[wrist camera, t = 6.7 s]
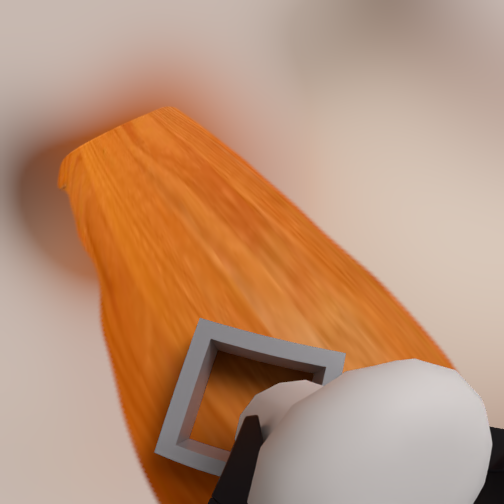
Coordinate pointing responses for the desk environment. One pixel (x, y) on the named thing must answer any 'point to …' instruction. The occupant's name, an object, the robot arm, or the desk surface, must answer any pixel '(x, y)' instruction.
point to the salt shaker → (372, 438)
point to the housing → (197, 374)
